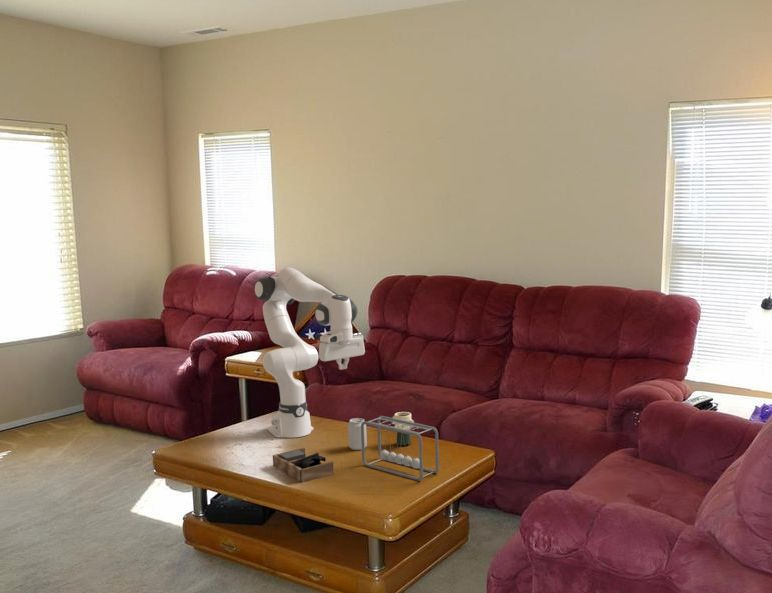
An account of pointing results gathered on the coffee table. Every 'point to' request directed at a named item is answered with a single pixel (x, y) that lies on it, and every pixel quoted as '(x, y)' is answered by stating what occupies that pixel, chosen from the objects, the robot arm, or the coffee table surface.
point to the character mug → (406, 417)
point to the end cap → (310, 461)
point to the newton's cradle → (399, 457)
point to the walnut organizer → (298, 472)
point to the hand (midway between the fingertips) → (343, 368)
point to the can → (356, 434)
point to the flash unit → (293, 455)
